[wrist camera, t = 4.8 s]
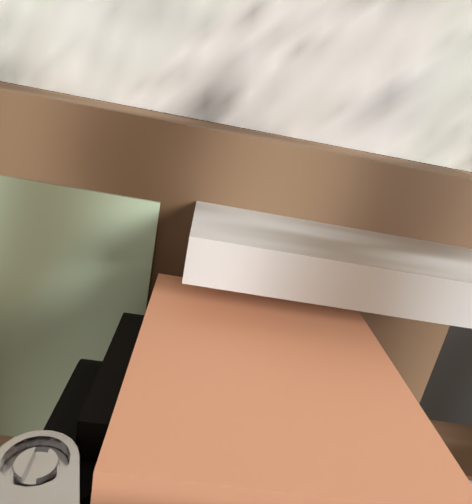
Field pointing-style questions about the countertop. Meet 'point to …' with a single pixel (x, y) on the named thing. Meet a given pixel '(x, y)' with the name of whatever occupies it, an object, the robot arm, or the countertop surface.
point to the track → (220, 242)
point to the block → (266, 410)
